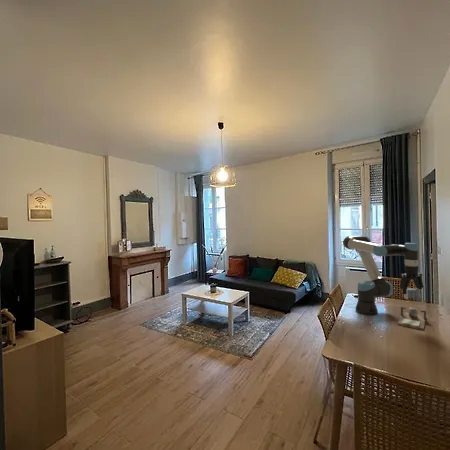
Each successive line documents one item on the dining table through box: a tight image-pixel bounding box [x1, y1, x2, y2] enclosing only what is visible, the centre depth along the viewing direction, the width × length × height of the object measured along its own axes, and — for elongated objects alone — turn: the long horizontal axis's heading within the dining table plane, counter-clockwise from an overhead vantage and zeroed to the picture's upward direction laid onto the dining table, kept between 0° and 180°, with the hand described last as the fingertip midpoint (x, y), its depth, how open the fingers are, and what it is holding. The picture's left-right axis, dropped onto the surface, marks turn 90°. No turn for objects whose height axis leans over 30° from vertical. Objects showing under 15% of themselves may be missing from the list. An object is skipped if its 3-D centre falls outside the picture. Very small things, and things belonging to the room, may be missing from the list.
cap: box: [407, 287, 421, 300], centre depth 173 cm, size 11×8×6 cm
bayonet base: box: [397, 306, 427, 331], centre depth 176 cm, size 14×26×7 cm, turn 138°
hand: (411, 298), depth 173 cm, fingers closed on cap, 8 cm apart
